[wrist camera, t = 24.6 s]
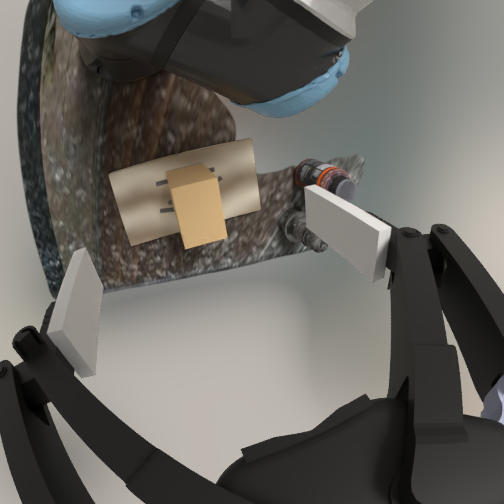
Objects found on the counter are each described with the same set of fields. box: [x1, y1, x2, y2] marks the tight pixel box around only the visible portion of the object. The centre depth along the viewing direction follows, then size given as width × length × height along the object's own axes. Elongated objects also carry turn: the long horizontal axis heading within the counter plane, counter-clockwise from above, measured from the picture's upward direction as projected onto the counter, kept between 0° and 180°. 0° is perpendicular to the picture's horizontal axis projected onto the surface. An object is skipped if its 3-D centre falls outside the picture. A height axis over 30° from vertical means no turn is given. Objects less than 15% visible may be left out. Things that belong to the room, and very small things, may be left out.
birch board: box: [109, 138, 261, 246], centre depth 42 cm, size 12×22×1 cm, turn 97°
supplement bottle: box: [295, 159, 357, 203], centre depth 44 cm, size 6×6×11 cm
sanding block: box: [166, 163, 227, 249], centre depth 38 cm, size 8×6×10 cm
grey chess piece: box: [278, 206, 328, 253], centre depth 47 cm, size 6×6×12 cm
